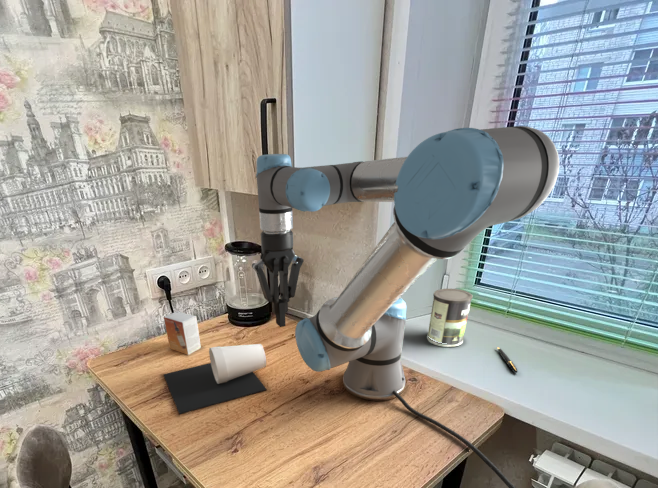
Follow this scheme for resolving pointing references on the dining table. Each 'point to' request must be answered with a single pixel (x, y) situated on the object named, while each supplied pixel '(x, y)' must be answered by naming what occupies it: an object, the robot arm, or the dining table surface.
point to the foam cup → (236, 361)
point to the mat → (207, 388)
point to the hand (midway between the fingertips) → (280, 324)
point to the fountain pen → (508, 360)
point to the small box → (182, 332)
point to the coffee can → (449, 317)
